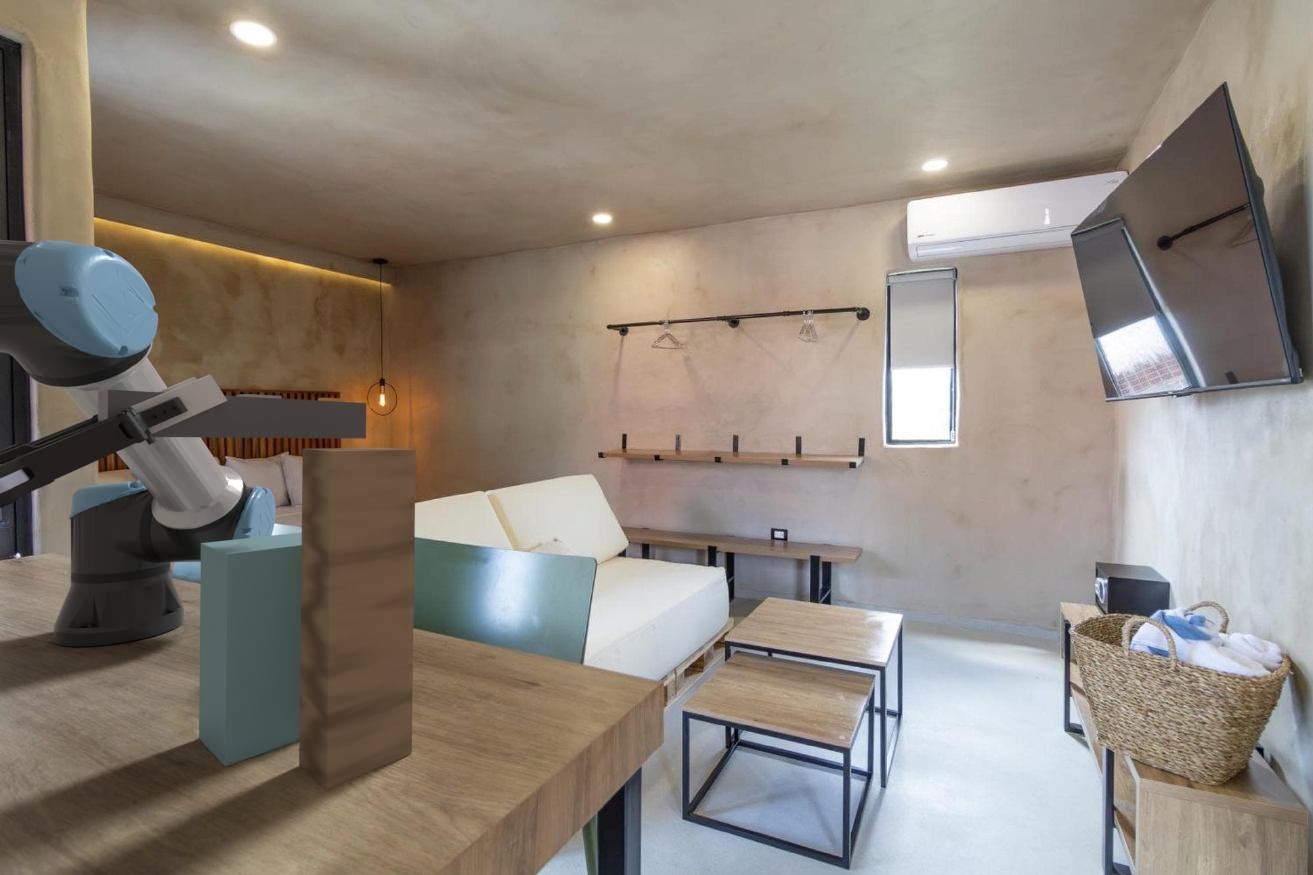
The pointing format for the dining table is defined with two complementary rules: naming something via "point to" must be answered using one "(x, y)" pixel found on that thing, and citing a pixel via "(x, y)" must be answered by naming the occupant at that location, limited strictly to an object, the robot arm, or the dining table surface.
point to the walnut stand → (356, 610)
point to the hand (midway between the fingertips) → (209, 389)
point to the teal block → (250, 645)
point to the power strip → (253, 416)
